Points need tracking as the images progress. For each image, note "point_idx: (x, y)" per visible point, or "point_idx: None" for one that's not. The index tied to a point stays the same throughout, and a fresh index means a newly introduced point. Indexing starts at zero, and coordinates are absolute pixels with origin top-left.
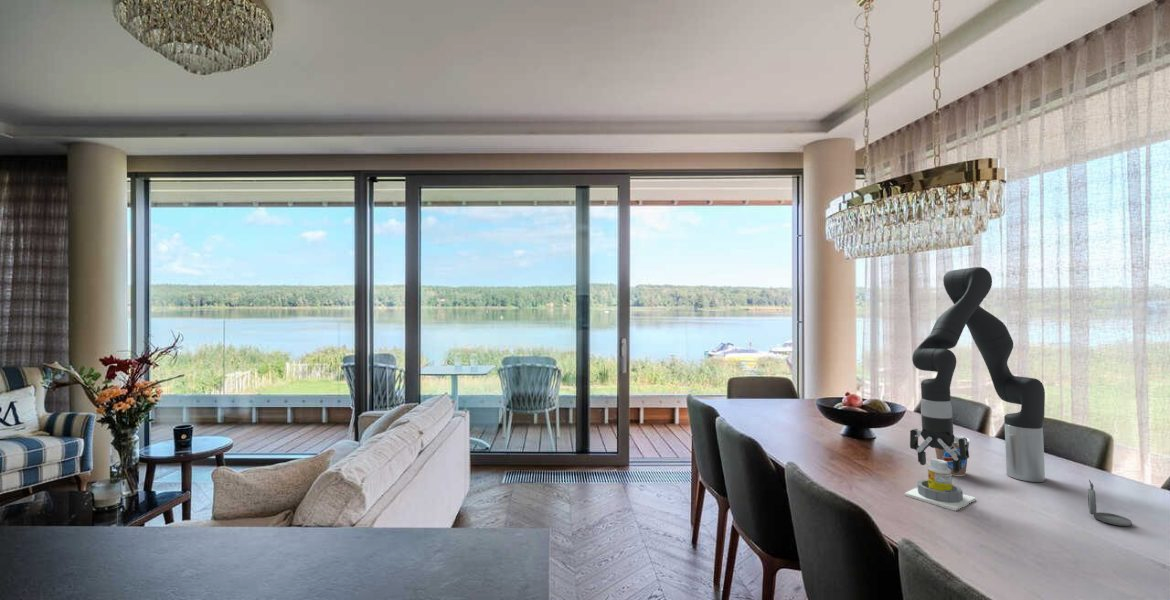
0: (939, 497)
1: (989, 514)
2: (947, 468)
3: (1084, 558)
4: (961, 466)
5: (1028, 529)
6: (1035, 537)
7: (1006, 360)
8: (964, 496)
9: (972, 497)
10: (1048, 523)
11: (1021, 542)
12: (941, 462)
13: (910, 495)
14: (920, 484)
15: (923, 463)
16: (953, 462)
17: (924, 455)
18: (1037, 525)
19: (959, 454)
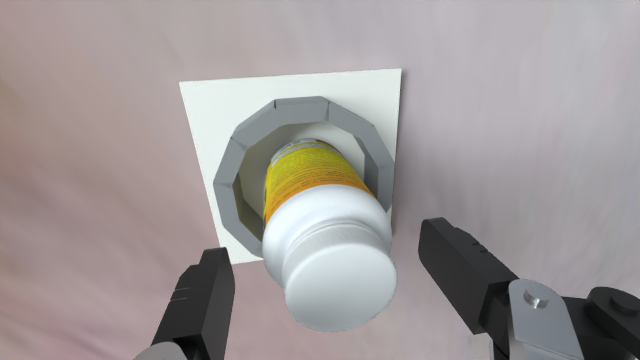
0: None
1: (457, 172)
2: (373, 230)
3: (620, 238)
4: (483, 246)
5: (544, 187)
6: (554, 221)
7: None
8: (368, 99)
9: (392, 80)
10: (597, 85)
11: (528, 270)
12: (369, 305)
13: (246, 259)
14: (254, 245)
15: (231, 282)
16: (464, 314)
17: (214, 319)
18: (567, 135)
19: (567, 326)
